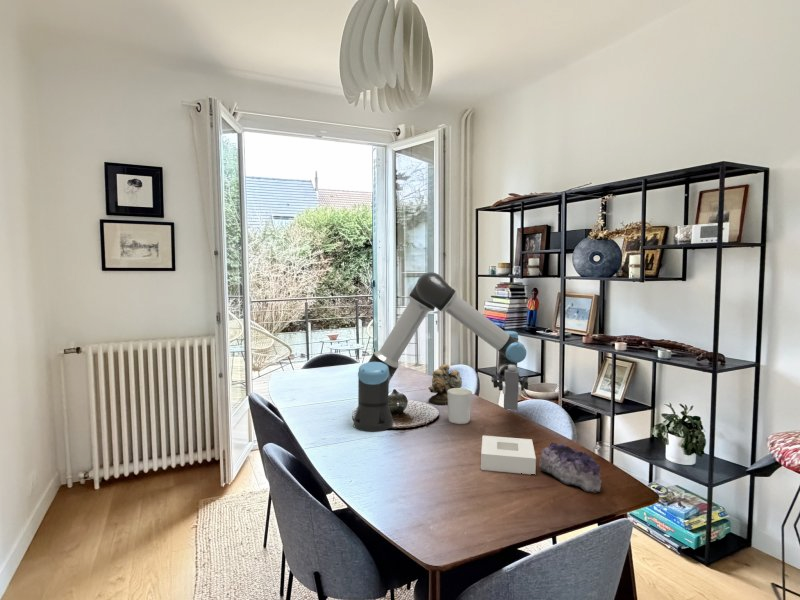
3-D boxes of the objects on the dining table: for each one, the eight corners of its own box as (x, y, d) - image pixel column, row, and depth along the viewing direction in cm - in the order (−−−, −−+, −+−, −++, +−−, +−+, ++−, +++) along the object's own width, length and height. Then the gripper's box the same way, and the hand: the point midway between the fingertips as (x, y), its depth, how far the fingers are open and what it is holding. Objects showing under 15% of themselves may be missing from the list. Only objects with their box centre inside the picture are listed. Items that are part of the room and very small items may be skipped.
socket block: (480, 469, 145) (481, 453, 145) (482, 449, 161) (482, 435, 161) (535, 474, 142) (535, 458, 142) (531, 454, 158) (531, 439, 158)
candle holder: (470, 425, 186) (471, 395, 185) (445, 423, 188) (445, 393, 187) (472, 417, 195) (472, 388, 194) (447, 415, 197) (448, 387, 196)
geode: (615, 488, 135) (615, 455, 133) (587, 502, 129) (586, 468, 128) (559, 459, 152) (558, 430, 151) (532, 471, 147) (531, 441, 145)
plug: (504, 409, 166) (505, 366, 165) (503, 405, 170) (504, 363, 169) (517, 409, 165) (518, 367, 164) (516, 406, 170) (518, 364, 169)
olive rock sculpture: (435, 407, 209) (436, 368, 208) (422, 400, 219) (422, 363, 218) (469, 402, 217) (470, 365, 216) (454, 396, 228) (455, 360, 226)
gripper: (531, 385, 184) (538, 403, 161) (485, 383, 187) (485, 399, 164) (532, 366, 183) (539, 381, 160) (485, 364, 186) (486, 378, 163)
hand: (512, 390), depth 162 cm, fingers closed on plug, 4 cm apart
